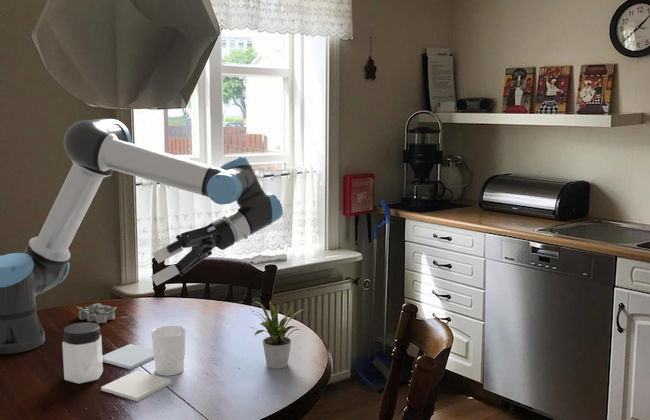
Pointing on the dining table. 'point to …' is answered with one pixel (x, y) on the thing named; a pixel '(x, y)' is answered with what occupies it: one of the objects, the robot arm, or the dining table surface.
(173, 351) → the white cup
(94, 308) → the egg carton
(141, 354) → the light grey square tile
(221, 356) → the dining table surface
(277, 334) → the house plant
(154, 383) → the tile shorter
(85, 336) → the jar
